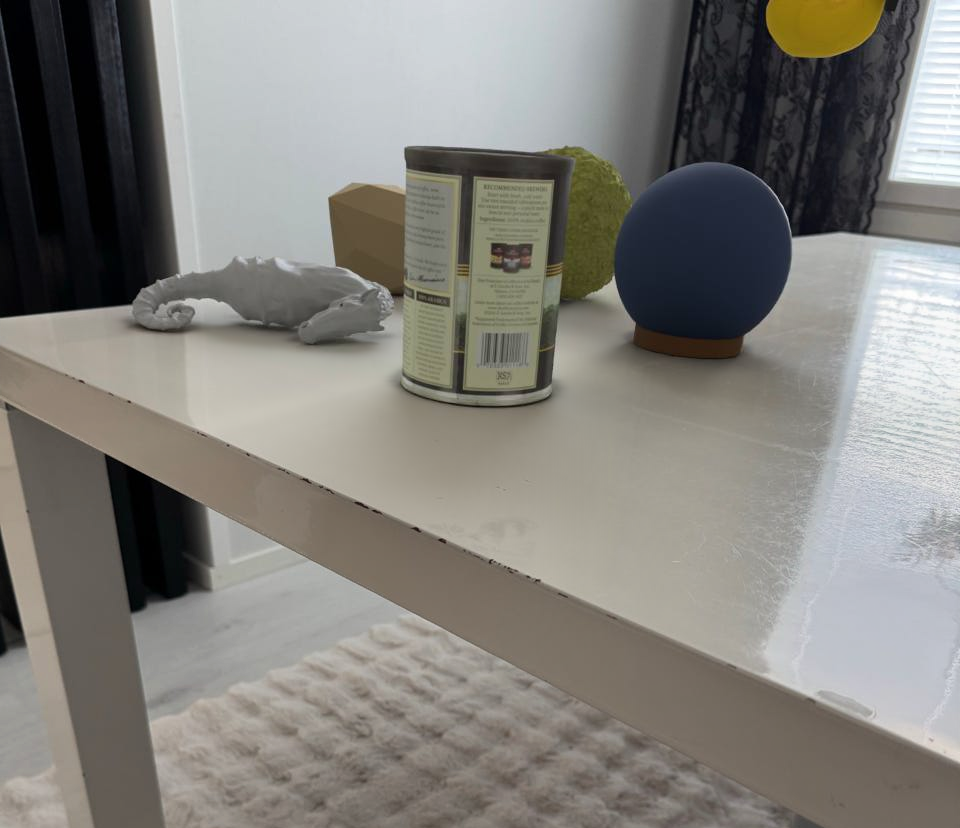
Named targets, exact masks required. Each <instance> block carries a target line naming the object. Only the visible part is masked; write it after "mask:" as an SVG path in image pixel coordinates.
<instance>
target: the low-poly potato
mask: <svg viewBox="0 0 960 828" xmlns="http://www.w3.org/2000/svg"><path fill="white" fill-rule="evenodd" d="M405 198H406V189H404V188H402V187H400V186H398V185H395V184H383V183H382V184H381V183H366V182H365V183H364V182H351V183H349V184H347V185H346V186H344V187H343V188H341V189H339V190H338V191H337V192H334V193H333V194H332V195H329V196H328V197H327V200H328V211H329V222H330V224H329V225H330V231H331V238H332V239H331V240H332V247H333V255H334V256H333V257H334V264H335V265H334V266H336V267H341V268H345V269H348V270H350V271H352V272H353V273H355V274H357V275H358V276H360V277H361V278H363V279H365V280H369V281H370V282H376V283H378V284H380V285H381V286H384V287H385V288H387V289H388V291H389V292H390V294H391V295H404V255H405Z"/></svg>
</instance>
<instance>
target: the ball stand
mask: <svg viewBox="0 0 960 828" xmlns="http://www.w3.org/2000/svg"><path fill="white" fill-rule="evenodd" d="M792 236H793V235H792V230H791V227H790V222H789V218H788V216H787V213H786V211H785V208H784V206H783V204H782V202H781V201H780V200H779V198H778V196H777V194H776V193H775V192H774V191H773V190H772V189H771V187H770V186H769V185H767V184H766V183H765V182H764V181H763V180H762V179H761V178H759V177H758V176H757V175H756V174H754V173H752V172H750V171H748V170H746V169H744V168H742V167H739V166H736V165H733V164H730V163H724V162H718V161H717V162H716V161H714V162H713V161H712V162H711V161H704V162H698V163H692V164H691V163H690V164H688V165H685V166H681V167H678V168H676V169H674V170H672V171H670V172H668V173H666V174H664V175H662V176H661V177H659V178H657V179H656V180H655V181H654V182H653V183H651V184H649V186H648V187H646V189H645V190H644V191H643V192H641V193H640V195H639V196H638V197H637V198H636V200H635V201H634V203H632V204H631V208H630V210H629V211H628V213H627V215H626V217H625V219H624V221H623V223H622V225H621V228H620V231H619V234H618V237H617V241H616V247H615V253H614V275H615V276H614V281H615V286H616V290H617V293H618V296H619V299H620V301H621V303H622V306H623V307H624V309H625V311H626V312H627V314H628V316H629V317H630V319H631V320H632V321H633V322H634V323H635V325H634V333H633V334H634V335H633V343H634V344H635V345H636V346H639V347H641V348H643V349H644V350H645V349H646V350H649V351H651V352H655V353H658V354H659V353H660V354H664V355H669V356H670V355H671V356H674V357H675V356H676V357H683V358H692V359H693V358H694V359H727V358H733V357H737V356H739V355H740V354H741V353H742V351H743V346H744V341H745V335H747V334H748V333H751V331H753V330H754V329H755V328H756V327H757V326H759V325H760V324H761V323H762V322H763V321H764V319H766V317H767V316H768V315H769V314H770V313H771V312H772V310H773V309H774V307H775V306H776V305H777V303H778V301H779V300H780V298H781V297H782V294H783V292H784V290H785V287H786V284H787V282H788V279H789V275H790V272H791V267H792V260H793V237H792Z"/></svg>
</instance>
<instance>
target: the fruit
mask: <svg viewBox="0 0 960 828" xmlns="http://www.w3.org/2000/svg"><path fill="white" fill-rule="evenodd" d="M535 152H536V153H546V154H555V155H562V156H569V157H573V158H574V159H575V160H576V161H575V169H574V171H573V173H572V177H571V186H570V196H569V207H568V218H567V229H566V238H565V249H564V259H563V268H562V279H561V290H560V299H565V300H566V301H568V300H570V299H574V300H577V301H578V300H581V299H582V298H583V299H584V298H586V297H587V296H588V295H590V294H592V293H595V292H596V293H597V292H598V291H600V290H602V289H603V288H604V287H605V286H608V285H609V284H610V283H611V282H612V281H613V278H614V277H615V275H614V253H615V247H616V241H617V237H618V234H619V231H620V228H621V225H622V223H623V221H624V219H625V217H626V215H627V213H628V211H629V210H630V208H631V206H632V205H633V201H634V199H633V198H632V197H631V196H630V193H629V191H628V187H627V185H626V183H625V182H624V180H623V177H622V176H621V174H620V172H619V171H618V169H617V168H616V167H615V165H614V164H613V162H612V161H610V160H608V159H605V158H603V157H601V155H598V154H595V153H593V152H591V151H589V150H587V149H585V148H584V147H582V146H575V145H573V146H568V145H567V144H566V145H565V146H564V147H562V148H553V149H552V148H549V149H548V150H543V151H535Z"/></svg>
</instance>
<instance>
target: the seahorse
mask: <svg viewBox="0 0 960 828" xmlns="http://www.w3.org/2000/svg"><path fill="white" fill-rule="evenodd" d="M187 299H193V300H198V301H201V300H202V299H203V300H204V299H210V300H214V301H216V302H218V303H224V304H226V305H228V306H229V307H230V308H231V309H232V310H233V311H234V312H235V313H236V314H238V315H239V316H240V317H241V318H243V320H245V321H247V322H249V321H257V322H261V323H263V325H264V326H269V325H270V324H275V325H277V326H283V327H286V328H287V329H292V328H295V327H298V331H297V332H298V338H299V340H300V341H301V342H302V343H304V344H309V345H313V344H315V343H316V342H317V341H320V340H327V339H333V338H334V339H335V338H344V337H350V336H352V335H357V334H366V333H368V332H372V333H374V332H382V331H384V330H385V326H383V325H382V324H380V323H381V322H383V321H385V320H386V319H387V318H388V317H391V315H392V314H393V309H394V308H395V300H394V299H393V296H392V294H390V292H389V291H388V289H387V288H385V287H384V286H381V285H380V284H378V283H376V282H370V281H369V280H365V279H363V278H361V277H360V276H358V275H357V274H355V273H353V272H352V271H350V270H348V269H345V268H341V267H336V265H334V266H331V265H324V264H319V263H315V262H309V261H304V260H288V259H282V258H281V257H278V256H273V257H272V258H268V259H267V258H266V259H265V258H262V257H261V256H260V255H255V256H254V257H250V258H247V257H241V256H239V255H235V256H234V257H233V258H232V260H231V261H230V263H228V265H226V266H225V267H223V268H220V269H212V270H210V271H206V272H196V271H194V270H193V271H191V272H190V273H186V274H179V273H176V274H174V275H173V276H170V277H167V278H166V277H165V278H164V279H161V280H160V279H156V281H155V283H153V284H151V285H149V286H146V287H142V288H140V291H139V293H138V294H137V295H136V298H135V299H134V300H133V301H132V310H131V314H132V316H133V317H134V319H135V321H137V323H138V324H140V325H141V326H143V327H146V328H147V329H149V330H160V331H162V332H165V331H166V330H170V329H175V330H179V329H180V328H181V327H183V326H188V325H190V324H191V323H192V320H193V318H194V316H195V315H196V310H195V308H194V307H193V306H191V305H185V303H183V302H185V301H186V300H187ZM172 300H173V301H177V300H180V301H182V302H178V303H176V304H172V305H169V306H168V307H167V309H166V315H167V317H168V318H165V317H158V316H157V314H156V313H157V311H158V310H159V309H160V306H161V305H164V306H167V305H168V303H169V302H170V301H172ZM175 313H179V314H178V315H177V317H176V316H173V315H174V314H175Z"/></svg>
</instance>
